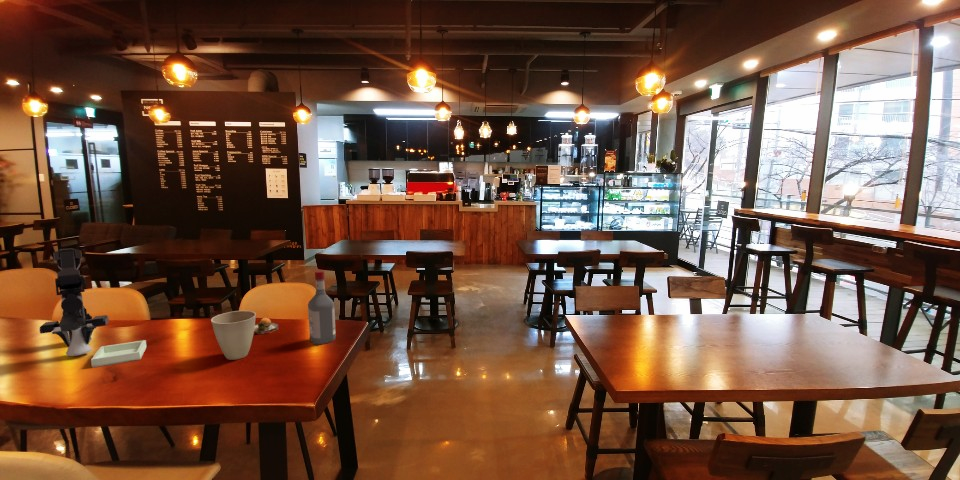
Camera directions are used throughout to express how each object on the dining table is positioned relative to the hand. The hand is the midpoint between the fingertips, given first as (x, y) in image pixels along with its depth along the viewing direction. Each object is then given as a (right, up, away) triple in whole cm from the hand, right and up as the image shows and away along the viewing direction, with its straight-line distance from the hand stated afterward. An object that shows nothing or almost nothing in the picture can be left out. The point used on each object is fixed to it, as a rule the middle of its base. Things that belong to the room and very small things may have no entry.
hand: (78, 345), depth 166 cm
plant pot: (+61, -5, +1) cm, 61 cm away
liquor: (+88, -2, +18) cm, 90 cm away
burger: (+57, -1, +30) cm, 64 cm away
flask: (0, -3, +1) cm, 3 cm away
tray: (+17, -4, 0) cm, 17 cm away
